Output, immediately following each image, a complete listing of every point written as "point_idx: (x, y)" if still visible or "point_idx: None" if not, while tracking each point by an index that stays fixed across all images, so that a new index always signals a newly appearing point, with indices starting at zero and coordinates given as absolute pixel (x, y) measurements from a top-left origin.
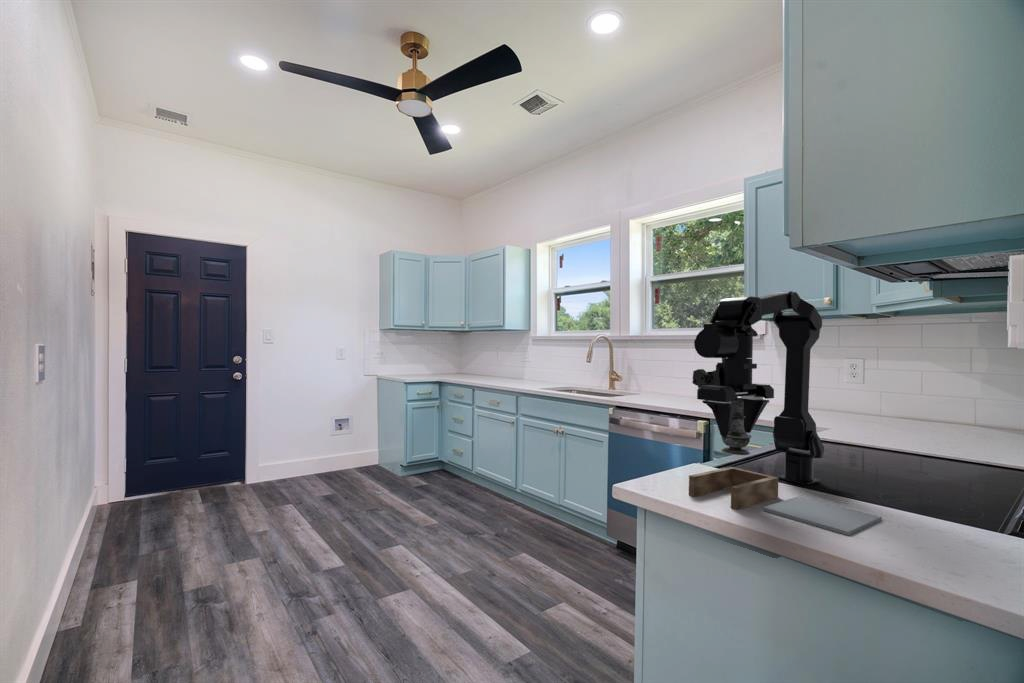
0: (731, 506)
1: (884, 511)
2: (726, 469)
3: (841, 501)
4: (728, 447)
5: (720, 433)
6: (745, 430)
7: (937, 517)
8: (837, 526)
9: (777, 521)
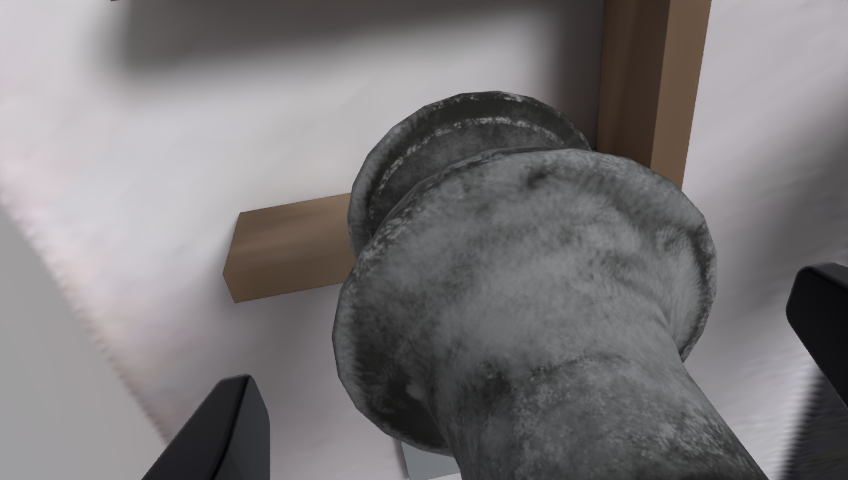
0: (240, 218)
1: (755, 381)
2: None
3: (778, 285)
4: (515, 131)
5: (204, 403)
6: (814, 291)
7: (803, 436)
8: (427, 456)
9: (307, 366)
